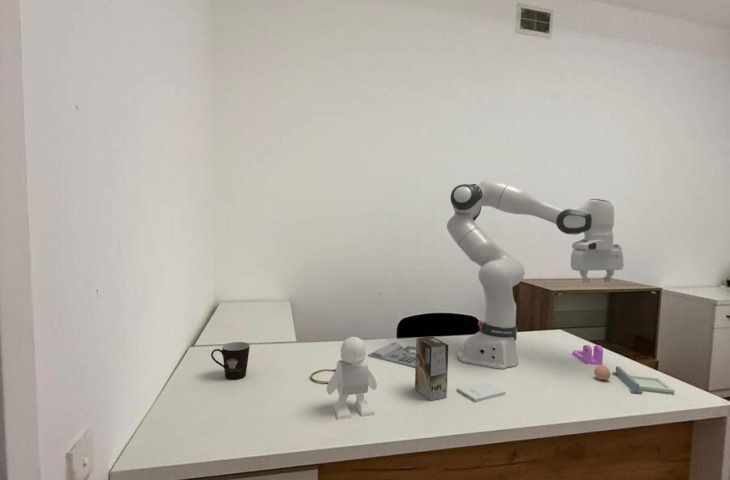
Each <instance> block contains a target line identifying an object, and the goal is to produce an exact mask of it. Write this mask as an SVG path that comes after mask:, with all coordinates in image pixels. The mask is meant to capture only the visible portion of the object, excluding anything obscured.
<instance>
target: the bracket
mask: <svg viewBox="0 0 730 480" xmlns="http://www.w3.org/2000/svg"><path fill="white" fill-rule="evenodd" d="M572 356H573V357H575V358H577V359H579V360H580V361H582V362H583V363H584V364H586V365H588V364H591V366H592V365H594V366H595V365H596V366H600V365H602V366H603V359H604V350H603V347H602V345H598V344H596V345H594V346H593V349H592V347H591V345H590V344H584V345H583V347H582V350H580V349H574V350H572Z"/></svg>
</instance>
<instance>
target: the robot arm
mask: <svg viewBox="0 0 730 480" xmlns="http://www.w3.org/2000/svg"><path fill="white" fill-rule="evenodd" d="M450 202H451V205H452V208H453V211H454V214H453V215H452V217H450V219H449V220H448V221H447V223H446V229H447V231H448V233H449V234H450V236H451V238H452V239H453V241H454V242H455V243H456V245H457V246H458V247H459V248H460V249H461V251H462V252H463V253H464V254H465V255H466V256H467V257H468V258H469V260H470V261H472V262H473V263H475V264H477V265H478V266H479V267H480V269H479V271H478V281H479V282H480V284H481V286H482V287H483V294H484V301H485V313H484V315H485V316H484V317H485V318H484V321H482V320H479V321H478V322H477V326H478V327H479V329H478V330H479V331H477V332H476V333H474V334H473V335H471V336H469V337H468V338H466V339H465V342H464V344H463V348H461V349H458V351H457V354H456V355H457V359H458V360H459V361H460V362H461V363H467V364H472V365H477V366H483V367H488V368H494V369H500V370H503V369H507V368H511V367H516V366H518V365H519V360H518V359H519V358H518V354H517V346H516V345H517V344H516V341H517V336H518V335H517V334H518V328H517V327H518V326H517V325H516V321H517V303H516V302H515V298H514V292H513V287H515V286H517V285H518V284H520V283H521V282H522V280H523V279H524V276H525V274H526V273H525V272H526V271H525V268H524V266H523V265H522V263H521V262H520V261H518V260H516V259H515V258H514V257H512V256H511V255H510V254H508V253H507V252H506V251H505V250H504V249H502V248H501V246H499V245H497V244H496V243H495V242H494V241H493V239H491V238H490V237H489V236H488V234H487V233H485V231H483V230H482V228H480V226H479V225H478V224H477V223H476V222H475V221H476V219H478V217H479V215H480V214H481V211H482V207H491V208H494V209H496V210H499V211H501V212H504V213H509V214H512V215H525V216H532V217H537V218H539V219H542V220H544V221H548V222H550V223H551V224H555V225H556V227H557V229H558V230H560V232H562V233H563V234H566V235H572V236H573V235H575V236H576V235H580V234H584V237H583V238H582V239H580V240H578V241H574V242H572V244H571V248H572V252H571V253H570V254H571V255H570V268H571V270H573V271H578V272H579V274H580V276H581V279H582V280H581V281H582V283H583V284H589V283H590V279H591V278H588V272H589V271H590V272H591V271H605V272H606V274H605V276H604V277H603V282H604V283H611V282H612V277H613V276H614V274H615V271H620V270H622V269H623V268H624V265H625V264H624V253H623V251H622V250H623V248H622V246H620V245H619V244H614V234H613V227H614V224H615V210H614V205H613V204H612V202H610V201H609V200H605V199H599V198H590V199H588V200H586V201H585V202H582V203H581V204H579V205H577V206H574V207H569V208H560V207H558V206H554V205H551V204H550V203H546V202H544V201H542V200H539V199H537V198H536V197H534V196H532V194H531V193H529V192H527V191H525V190H524V189H522V188H520V186H519V187H518V186H516V185H514V184H512V183H510V182H505V181H503V180H497V179H492V178H486V179H484V180H482V181H480V183H479V185H478V184H476V183H471V184H469V183H468V184H467V183H466V184H465V183H464V184H459V185H456V186H455V187H454V188H453V189H452V190H451V193H450Z"/></svg>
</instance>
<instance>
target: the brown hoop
mask: <svg viewBox="0 0 730 480" xmlns="http://www.w3.org/2000/svg"><path fill="white" fill-rule="evenodd" d="M325 371H327V372H328V371H330V372H331V371H332V372H335V371H336V368H334V369H328V368H327V369H326V368H325V369H319V370H316V371H314V372H312V373H311V374H310V377H309V378H310V379H311V381H312V382H314V383H316V384H320V385H321V384H322V385H328V383H329V381H327V380H325V381H323V380H318V379H315V378H313V376H314V375H316V374H318V373H321V372H325Z"/></svg>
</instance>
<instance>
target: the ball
mask: <svg viewBox="0 0 730 480" xmlns="http://www.w3.org/2000/svg"><path fill="white" fill-rule="evenodd" d="M593 373H594V376H595V377H596V378H597V379H599V380H600V381H607V380H609V379H610V377H611V376H612V375H611V374H612V373H611V370H610V369H609V368H608V367H607V366H605V365H603V364H602V365H596V367H595V368H594V371H593Z"/></svg>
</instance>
